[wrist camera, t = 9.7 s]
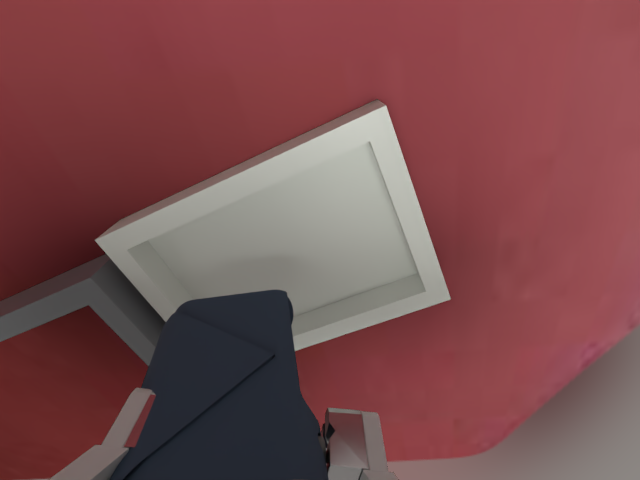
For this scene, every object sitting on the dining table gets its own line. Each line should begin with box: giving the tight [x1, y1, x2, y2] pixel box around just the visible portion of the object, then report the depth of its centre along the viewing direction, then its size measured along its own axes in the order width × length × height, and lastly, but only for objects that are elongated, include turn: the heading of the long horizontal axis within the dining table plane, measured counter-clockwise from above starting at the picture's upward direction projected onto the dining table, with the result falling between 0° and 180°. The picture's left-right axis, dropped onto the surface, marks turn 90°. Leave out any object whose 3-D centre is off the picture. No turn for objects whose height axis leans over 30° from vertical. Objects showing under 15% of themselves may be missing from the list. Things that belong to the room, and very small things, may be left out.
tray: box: [95, 99, 451, 351], centre depth 17 cm, size 14×10×2 cm
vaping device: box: [109, 289, 329, 480], centre depth 8 cm, size 3×5×12 cm, turn 92°
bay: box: [0, 254, 166, 366], centre depth 21 cm, size 9×15×3 cm, turn 24°
